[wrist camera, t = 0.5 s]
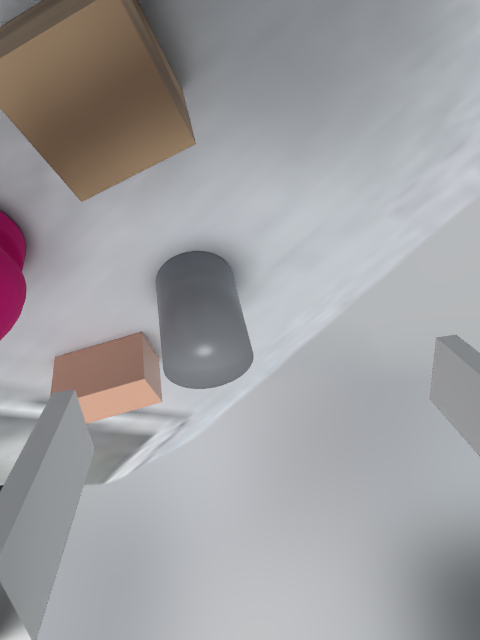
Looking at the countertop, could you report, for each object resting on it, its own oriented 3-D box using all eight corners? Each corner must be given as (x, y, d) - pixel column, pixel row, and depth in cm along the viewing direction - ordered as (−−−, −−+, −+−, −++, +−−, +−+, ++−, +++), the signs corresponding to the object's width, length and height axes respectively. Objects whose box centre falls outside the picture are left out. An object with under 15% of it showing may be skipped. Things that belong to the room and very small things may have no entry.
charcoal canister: (143, 265, 31) (149, 351, 26) (221, 241, 30) (243, 324, 25) (171, 315, 35) (180, 397, 30) (239, 295, 35) (260, 374, 30)
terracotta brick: (55, 356, 37) (49, 406, 33) (142, 330, 36) (144, 378, 33) (78, 378, 40) (74, 426, 36) (158, 355, 39) (162, 401, 36)
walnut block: (1, 25, 19) (-28, 75, 15) (115, -46, 18) (114, -11, 14) (87, 141, 23) (81, 201, 20) (182, 90, 22) (195, 143, 18)
